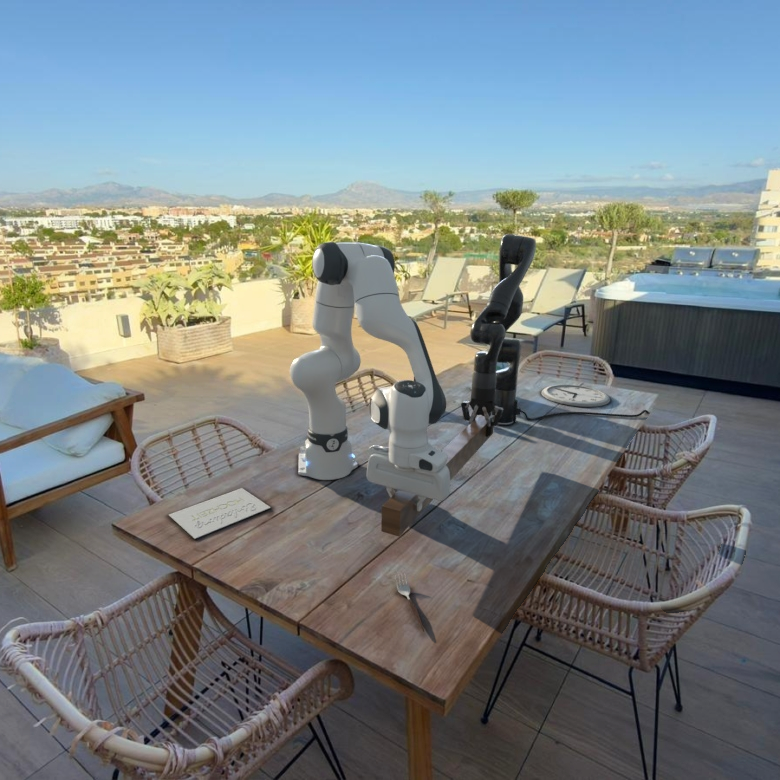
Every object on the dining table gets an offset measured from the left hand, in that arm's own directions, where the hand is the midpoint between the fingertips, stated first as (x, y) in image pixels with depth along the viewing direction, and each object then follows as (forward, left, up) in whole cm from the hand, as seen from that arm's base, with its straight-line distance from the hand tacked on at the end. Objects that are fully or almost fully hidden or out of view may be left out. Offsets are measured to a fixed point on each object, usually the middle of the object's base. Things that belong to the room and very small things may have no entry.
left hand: (406, 506), depth 123 cm
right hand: (-37, +41, -2) cm, 56 cm away
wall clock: (-83, +118, -10) cm, 144 cm away
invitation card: (-30, -41, -10) cm, 51 cm away
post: (-19, +20, -3) cm, 28 cm away
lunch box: (-91, +78, -10) cm, 121 cm away
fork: (+20, -7, -10) cm, 24 cm away
